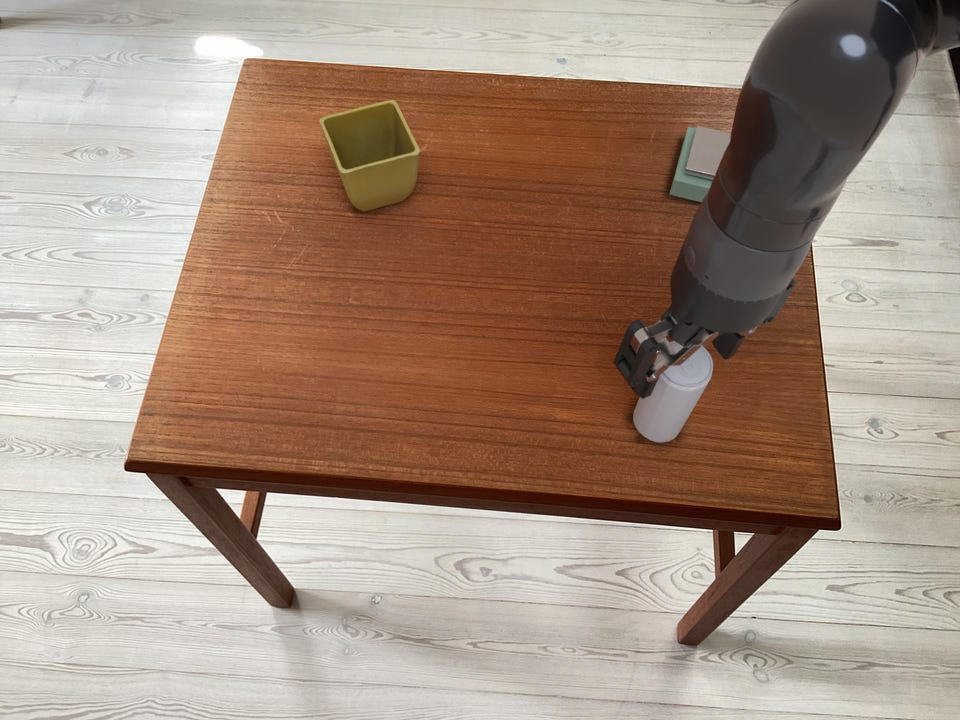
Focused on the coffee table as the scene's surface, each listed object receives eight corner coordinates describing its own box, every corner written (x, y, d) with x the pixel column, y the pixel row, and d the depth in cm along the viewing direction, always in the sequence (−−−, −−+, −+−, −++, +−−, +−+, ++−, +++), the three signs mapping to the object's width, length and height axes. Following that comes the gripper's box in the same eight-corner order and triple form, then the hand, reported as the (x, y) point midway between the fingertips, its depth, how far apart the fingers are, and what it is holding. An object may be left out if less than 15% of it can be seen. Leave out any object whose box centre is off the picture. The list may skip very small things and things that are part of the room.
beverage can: (668, 394, 77) (699, 331, 67) (689, 436, 75) (725, 378, 64) (623, 408, 76) (648, 346, 66) (644, 451, 74) (673, 393, 64)
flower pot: (401, 156, 93) (395, 97, 85) (425, 208, 89) (421, 151, 81) (331, 175, 91) (317, 117, 83) (352, 229, 87) (340, 173, 79)
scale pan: (756, 144, 90) (758, 139, 90) (747, 188, 87) (749, 183, 86) (695, 130, 91) (697, 125, 91) (684, 173, 88) (685, 168, 87)
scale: (756, 159, 93) (764, 142, 91) (745, 213, 89) (753, 197, 86) (683, 141, 94) (688, 125, 92) (669, 194, 90) (674, 178, 88)
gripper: (685, 335, 49) (635, 439, 63) (858, 255, 52) (774, 371, 66) (621, 250, 52) (587, 367, 66) (788, 180, 55) (722, 305, 69)
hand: (681, 369), depth 66 cm, fingers open, 8 cm apart
